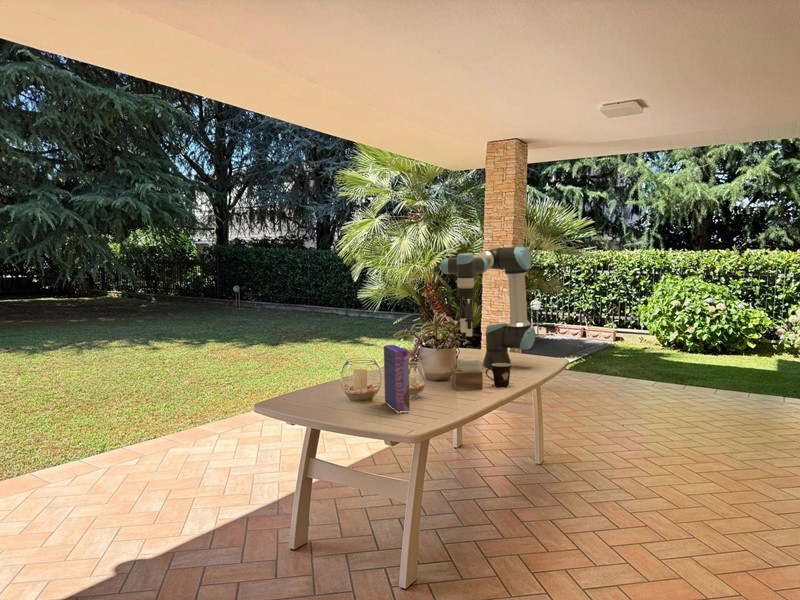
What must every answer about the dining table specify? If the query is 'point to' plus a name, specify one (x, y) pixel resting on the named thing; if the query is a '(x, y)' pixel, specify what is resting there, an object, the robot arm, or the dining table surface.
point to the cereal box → (396, 377)
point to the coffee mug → (500, 374)
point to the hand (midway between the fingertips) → (466, 334)
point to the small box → (467, 364)
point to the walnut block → (467, 380)
